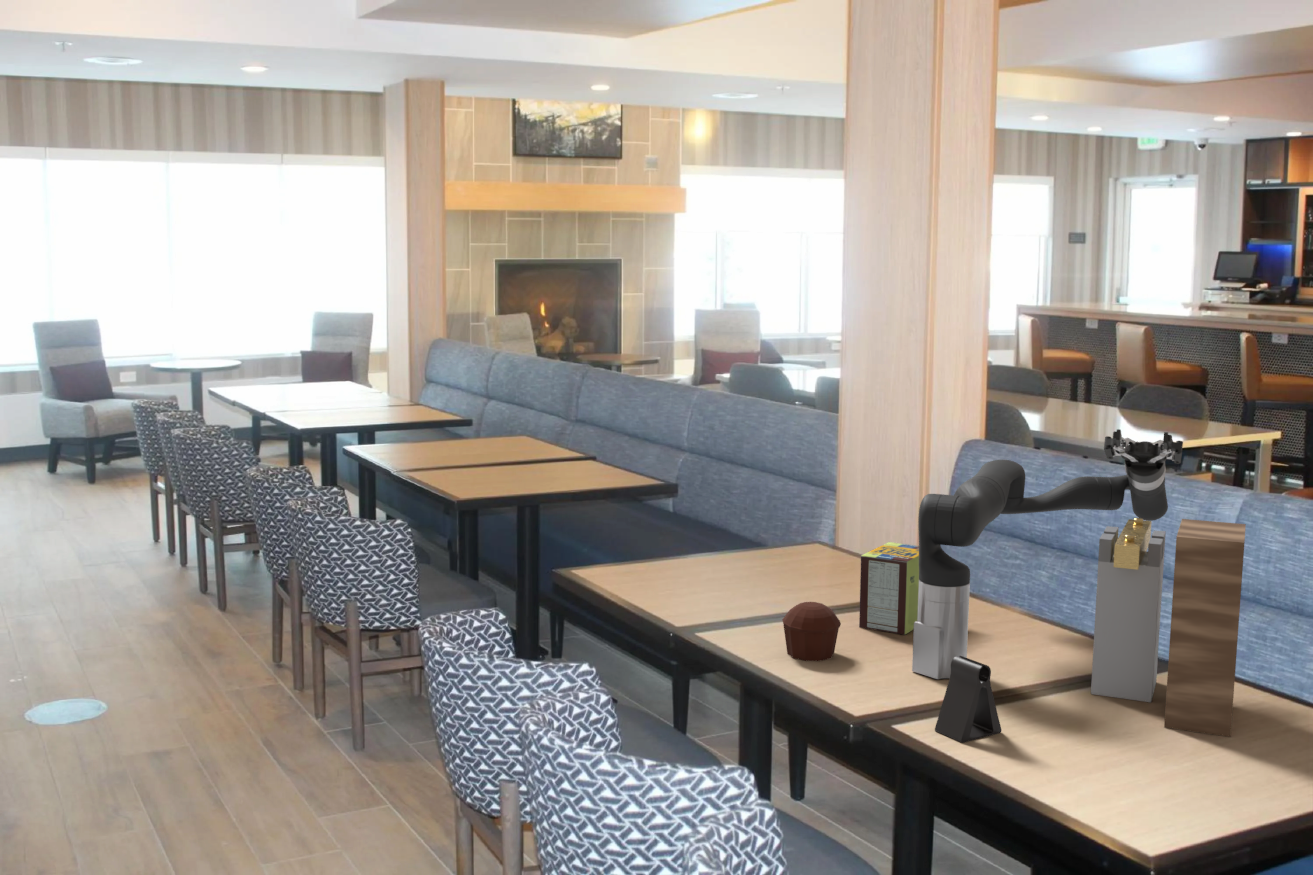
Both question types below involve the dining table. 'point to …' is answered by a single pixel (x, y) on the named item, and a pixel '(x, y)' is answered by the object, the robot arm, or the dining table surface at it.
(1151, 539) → the post
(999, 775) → the dining table surface
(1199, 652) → the stand
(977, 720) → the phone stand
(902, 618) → the protein box
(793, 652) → the muffin
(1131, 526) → the gold studded block
